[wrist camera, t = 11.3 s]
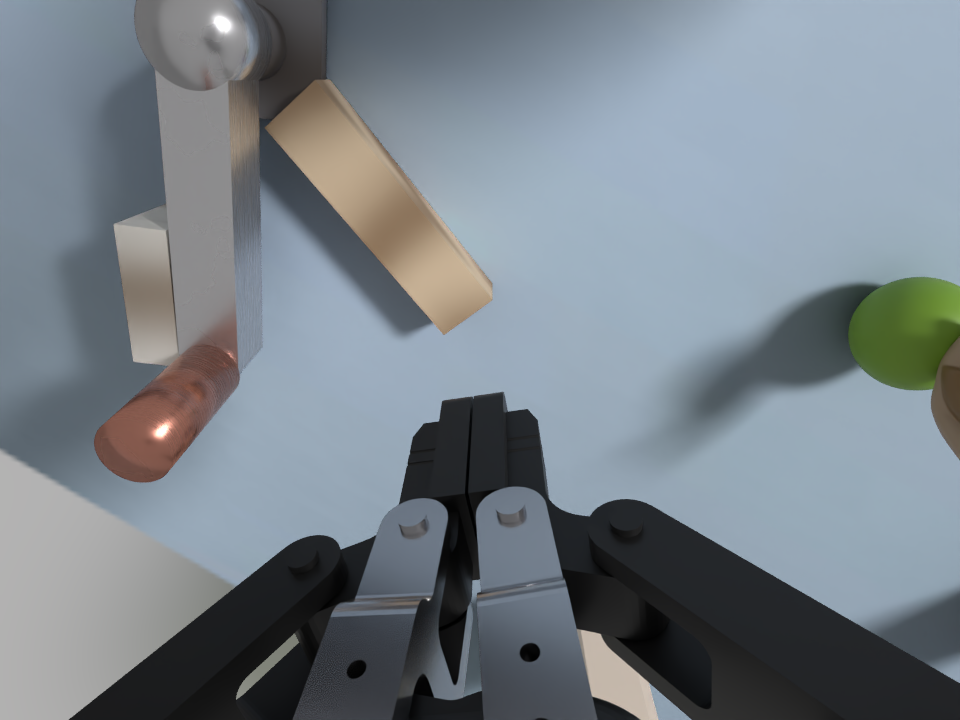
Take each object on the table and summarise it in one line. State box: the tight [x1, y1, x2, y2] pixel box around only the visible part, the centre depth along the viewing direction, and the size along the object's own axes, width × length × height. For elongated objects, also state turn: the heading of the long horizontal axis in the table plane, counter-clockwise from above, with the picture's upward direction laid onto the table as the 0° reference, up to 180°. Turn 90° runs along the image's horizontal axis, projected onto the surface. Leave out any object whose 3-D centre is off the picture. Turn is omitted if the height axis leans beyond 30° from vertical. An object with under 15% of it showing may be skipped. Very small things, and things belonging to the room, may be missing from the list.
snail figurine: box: [848, 277, 960, 460], centre depth 25 cm, size 5×6×12 cm
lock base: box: [113, 0, 492, 366], centre depth 25 cm, size 16×15×6 cm
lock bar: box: [94, 0, 272, 482], centre depth 21 cm, size 16×4×9 cm, turn 172°
